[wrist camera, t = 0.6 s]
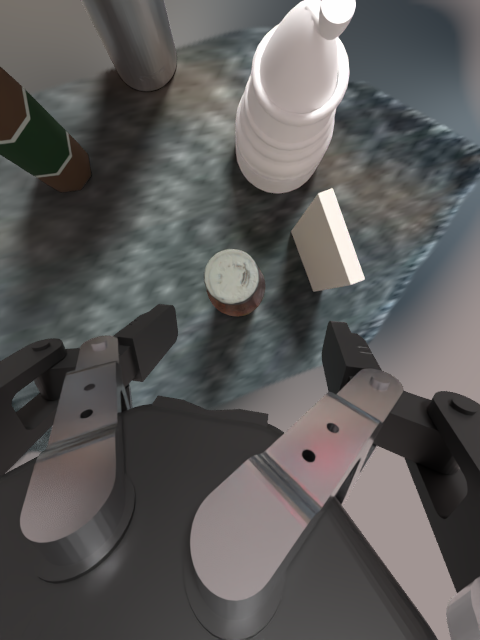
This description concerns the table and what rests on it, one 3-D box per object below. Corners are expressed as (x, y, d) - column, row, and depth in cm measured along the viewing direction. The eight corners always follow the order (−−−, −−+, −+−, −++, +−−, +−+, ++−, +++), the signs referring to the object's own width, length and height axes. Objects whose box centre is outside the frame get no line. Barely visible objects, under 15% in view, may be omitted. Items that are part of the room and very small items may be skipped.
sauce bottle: (266, 291, 36) (301, 275, 16) (241, 322, 36) (245, 342, 17) (234, 265, 36) (229, 215, 16) (209, 296, 36) (174, 284, 16)
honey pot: (337, 149, 35) (442, -15, 17) (277, 211, 35) (318, 114, 18) (278, 86, 34) (322, -155, 16) (218, 149, 35) (196, -16, 17)
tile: (291, 231, 36) (318, 193, 24) (301, 227, 36) (334, 187, 24) (313, 291, 36) (350, 284, 24) (324, 287, 36) (366, 278, 24)
